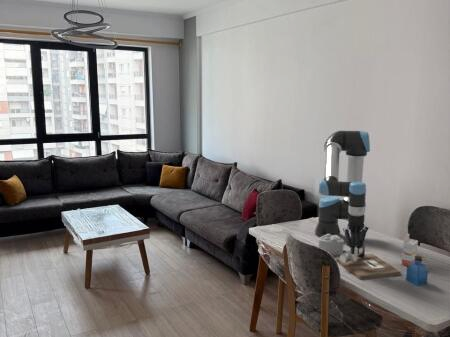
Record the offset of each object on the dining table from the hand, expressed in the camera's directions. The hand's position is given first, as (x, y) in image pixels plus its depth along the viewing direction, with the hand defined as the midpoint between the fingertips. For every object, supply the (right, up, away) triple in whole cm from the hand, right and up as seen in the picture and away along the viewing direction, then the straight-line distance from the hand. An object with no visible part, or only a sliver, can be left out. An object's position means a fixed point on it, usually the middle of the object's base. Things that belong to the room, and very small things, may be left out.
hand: (354, 260), depth 202 cm
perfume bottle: (+24, -7, -14) cm, 29 cm away
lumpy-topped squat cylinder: (-6, 0, +23) cm, 24 cm away
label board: (+7, -4, +2) cm, 8 cm away
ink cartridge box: (+30, -3, +7) cm, 31 cm away
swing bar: (+1, -1, +6) cm, 6 cm away
